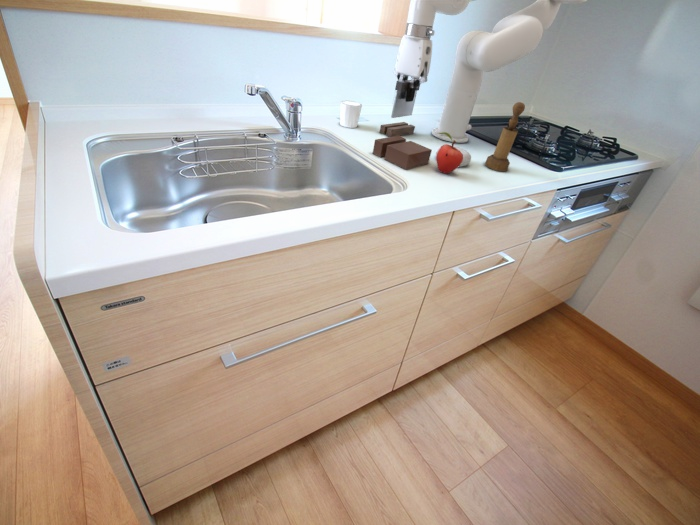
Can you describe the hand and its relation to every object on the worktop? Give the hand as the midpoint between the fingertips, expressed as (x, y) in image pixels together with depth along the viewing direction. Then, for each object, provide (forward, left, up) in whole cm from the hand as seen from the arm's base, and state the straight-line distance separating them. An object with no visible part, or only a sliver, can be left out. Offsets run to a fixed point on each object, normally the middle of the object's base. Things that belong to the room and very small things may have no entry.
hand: (405, 99), depth 116 cm
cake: (+18, +19, -11) cm, 29 cm away
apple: (+14, +28, -11) cm, 33 cm away
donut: (+4, +25, -11) cm, 27 cm away
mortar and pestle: (-6, +34, -11) cm, 36 cm away
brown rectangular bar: (+18, +12, -11) cm, 25 cm away
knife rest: (0, 0, -11) cm, 11 cm away
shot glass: (+11, -12, -11) cm, 20 cm away
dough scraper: (0, 0, -5) cm, 5 cm away
